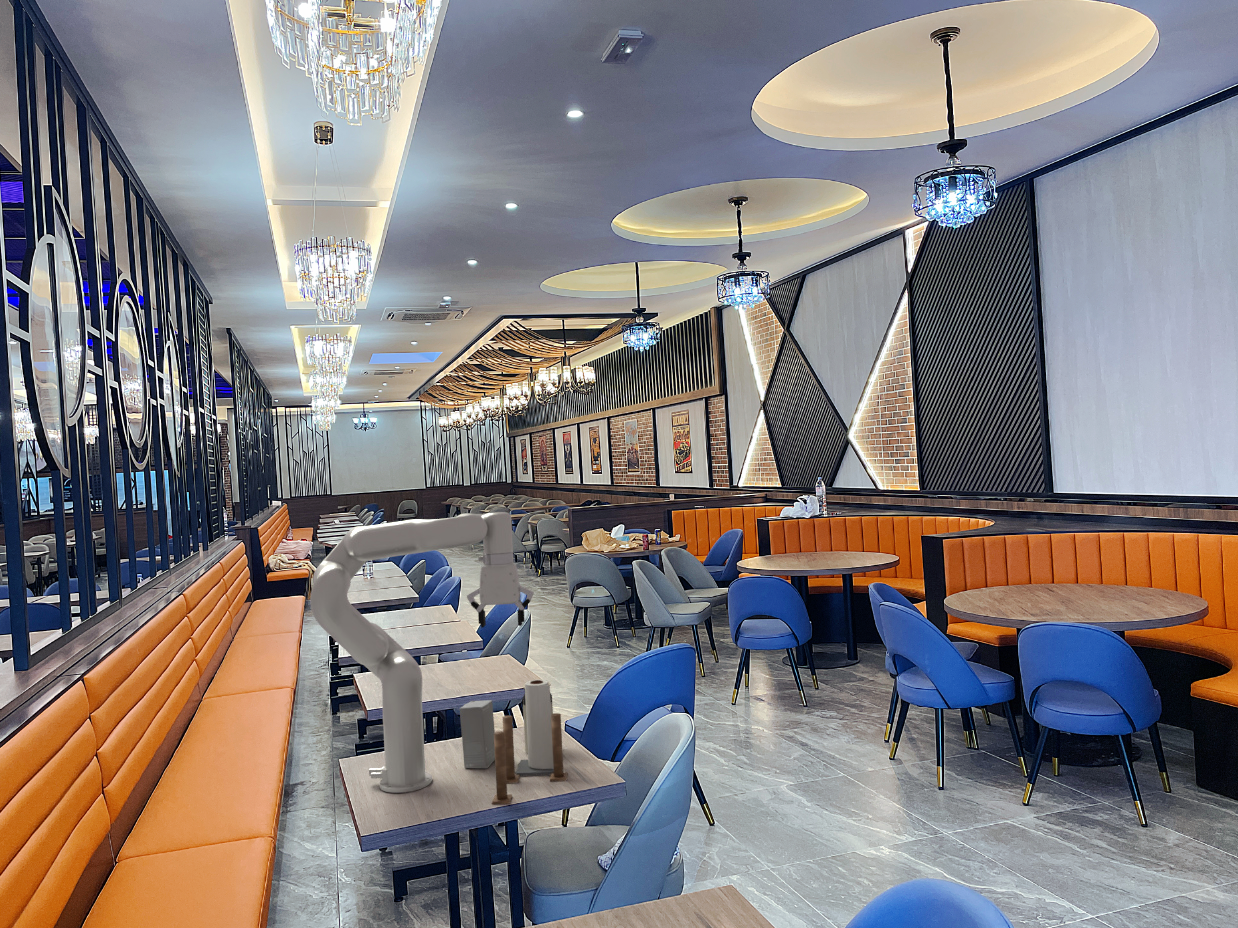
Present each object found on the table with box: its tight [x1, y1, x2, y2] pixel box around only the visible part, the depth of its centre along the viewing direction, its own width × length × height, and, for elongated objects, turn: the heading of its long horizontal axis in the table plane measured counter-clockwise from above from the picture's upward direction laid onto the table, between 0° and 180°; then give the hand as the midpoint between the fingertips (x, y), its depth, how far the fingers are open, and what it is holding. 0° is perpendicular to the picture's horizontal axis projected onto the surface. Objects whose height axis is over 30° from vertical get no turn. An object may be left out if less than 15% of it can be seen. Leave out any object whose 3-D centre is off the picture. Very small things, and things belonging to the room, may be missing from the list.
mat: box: [515, 759, 554, 777], centre depth 218 cm, size 10×10×1 cm
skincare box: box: [459, 699, 496, 769], centre depth 224 cm, size 8×7×16 cm
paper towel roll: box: [524, 679, 554, 769], centre depth 217 cm, size 7×6×21 cm
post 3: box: [549, 712, 569, 782], centre depth 210 cm, size 4×4×16 cm
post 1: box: [491, 730, 513, 805], centre depth 197 cm, size 4×4×16 cm
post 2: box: [502, 715, 521, 784], centre depth 210 cm, size 4×4×16 cm
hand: (501, 625), depth 221 cm, fingers open, 9 cm apart
